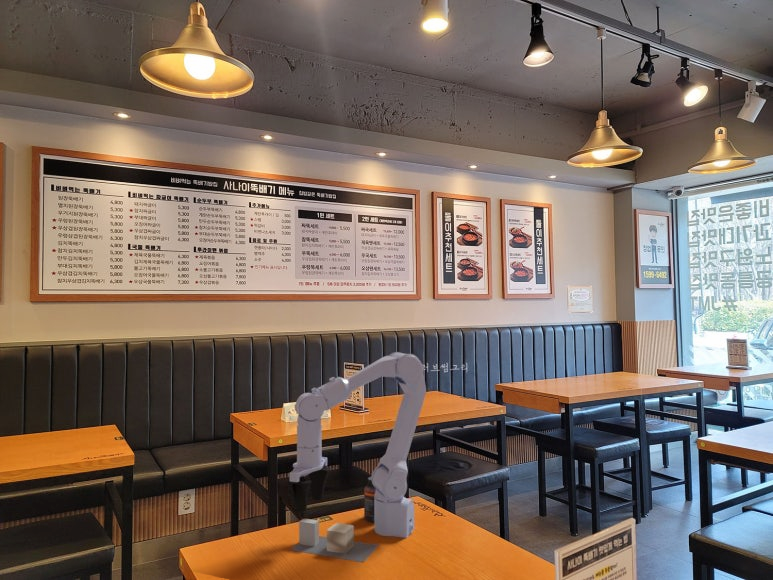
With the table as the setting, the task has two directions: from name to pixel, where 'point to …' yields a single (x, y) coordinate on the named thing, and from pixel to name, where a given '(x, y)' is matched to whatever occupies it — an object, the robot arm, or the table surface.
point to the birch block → (340, 538)
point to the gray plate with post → (318, 544)
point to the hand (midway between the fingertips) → (309, 504)
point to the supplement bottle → (369, 501)
